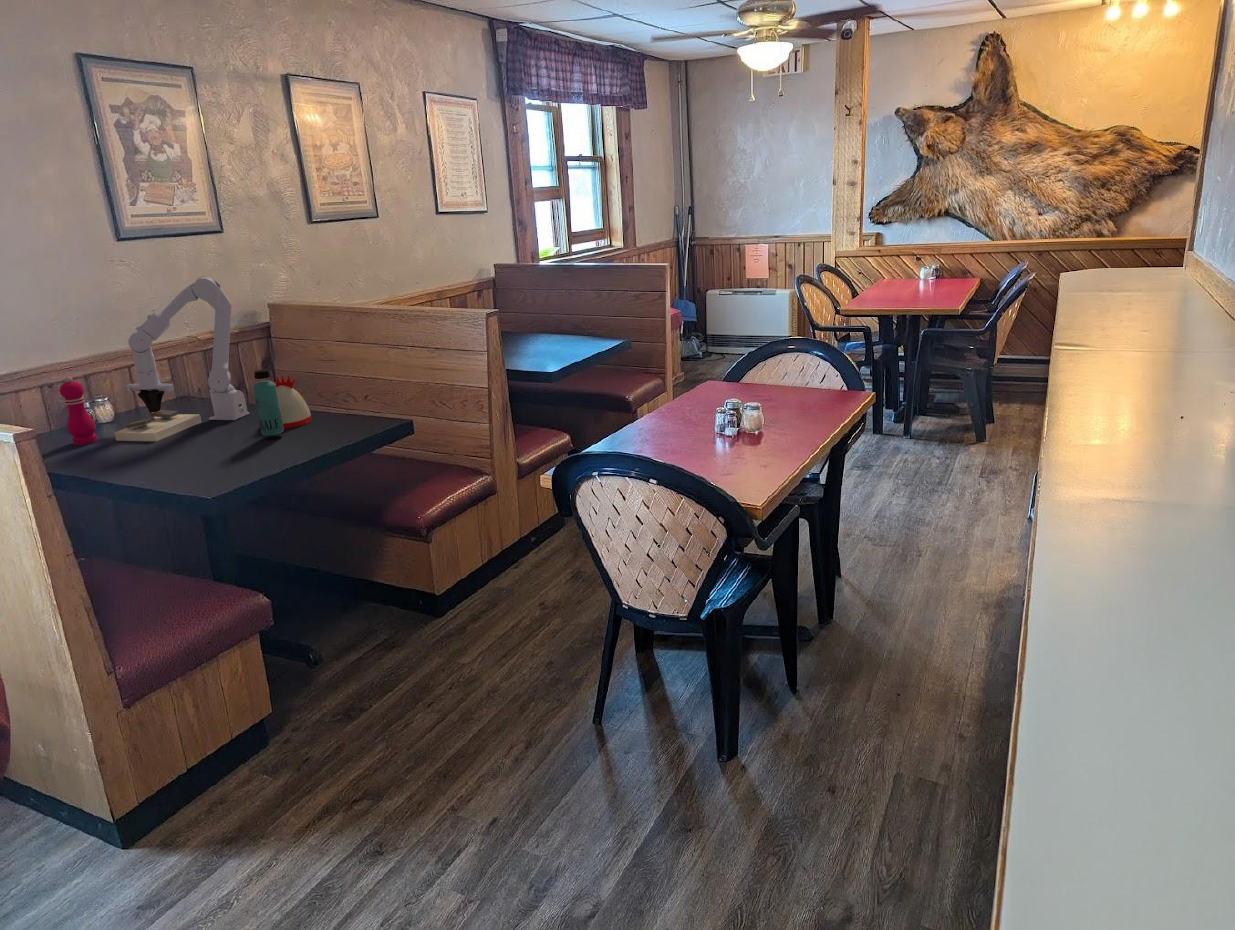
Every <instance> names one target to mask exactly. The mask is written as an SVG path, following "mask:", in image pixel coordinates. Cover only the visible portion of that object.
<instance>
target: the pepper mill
mask: <svg viewBox="0 0 1235 930" xmlns="http://www.w3.org/2000/svg"><path fill="white" fill-rule="evenodd" d="M64 381H65V382H63V383H62V384H61V385H60V387H59V393H60V396H61V397H63V398H64V399H63V402H64V404H65V405H66V406H67V409H68V421H67V432H68V434H69V435H71V436H72V438H71V439H72V443H73V445H75V446H84V445H90V444H93V443H96V442H97V441H98V437H97V434H95V432H96V429H97V425H96V423H95V421H94V419H93V418H92V417H91V416H90V414H89V413H88V411H87V410H86V406H85V401H86V400H85V397H84V396H83V394H84V393H85V388H84V386H83V384H81V383H80V382H78V381H73V377H72V376H66V377H65V380H64Z"/></svg>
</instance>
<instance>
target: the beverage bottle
mask: <svg viewBox="0 0 1235 930" xmlns="http://www.w3.org/2000/svg"><path fill="white" fill-rule="evenodd" d="M253 373H254V374H253V375H254V379H255V380H260V381H257V382H255V383H253V385H252V390H253V396H254V397H253V398H254V402H255V403H254V404H255V407H256V411H257V417H258V424H259V425H258V426H259V427H260V433H261V434H262V435H263V436H275V435H279V434H282V433H284V430H285V429H284V427H283V426H284V425H283V422H282V415H281V410H280V406H279V401H278V395H277V390H276V384H275V383H276V382H275V381H274V382H275V383H274V382H272V381H271V380H269V379H268V378H271V373H270V370H269V369H265V368H263V369H257V370H255V371H254V372H253ZM263 379H267V380H263Z"/></svg>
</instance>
